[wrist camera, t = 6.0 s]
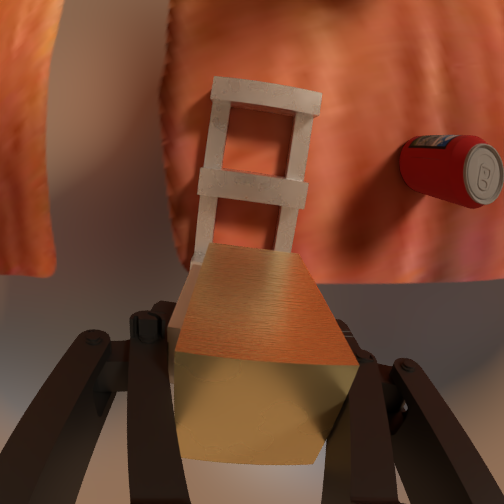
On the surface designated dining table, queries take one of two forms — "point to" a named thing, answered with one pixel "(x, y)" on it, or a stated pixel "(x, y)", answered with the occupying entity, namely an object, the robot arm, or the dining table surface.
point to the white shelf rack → (251, 183)
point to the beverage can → (453, 169)
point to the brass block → (258, 361)
